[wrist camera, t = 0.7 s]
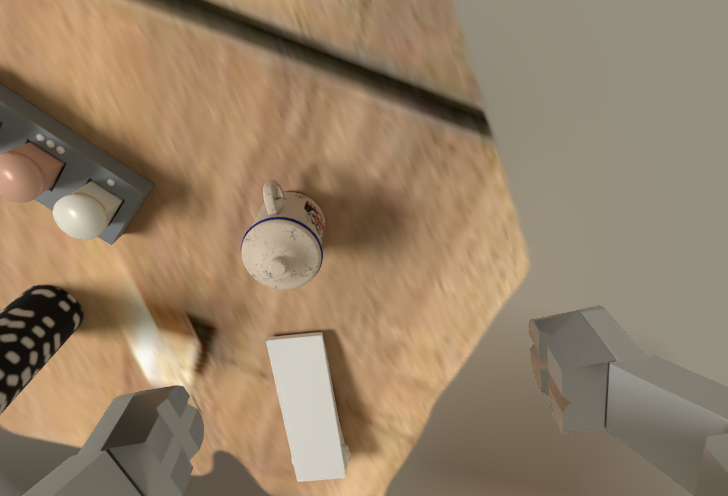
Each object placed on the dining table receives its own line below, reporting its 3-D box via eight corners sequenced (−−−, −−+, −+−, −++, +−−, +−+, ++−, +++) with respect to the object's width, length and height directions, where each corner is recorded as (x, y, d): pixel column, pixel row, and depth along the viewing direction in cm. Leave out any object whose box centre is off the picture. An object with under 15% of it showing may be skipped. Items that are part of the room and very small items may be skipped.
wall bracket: (276, 314, 70) (304, 446, 80) (255, 340, 64) (288, 480, 73) (335, 316, 67) (356, 453, 77) (319, 343, 61) (344, 488, 71)
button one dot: (71, 204, 52) (45, 221, 47) (89, 171, 50) (64, 186, 45) (113, 229, 53) (91, 248, 49) (132, 198, 51) (111, 215, 47)
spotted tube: (8, 300, 61) (-133, 416, 43) (49, 275, 59) (-81, 386, 42) (55, 340, 65) (-58, 462, 47) (96, 317, 63) (-7, 435, 45)
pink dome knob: (11, 167, 49) (-22, 182, 45) (27, 132, 47) (-6, 144, 43) (56, 194, 51) (28, 211, 47) (74, 161, 49) (46, 176, 45)
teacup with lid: (334, 247, 58) (328, 297, 47) (267, 257, 58) (248, 309, 48) (313, 160, 52) (302, 196, 42) (240, 173, 53) (212, 212, 42)
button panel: (-50, 130, 50) (-74, 136, 47) (-25, 66, 47) (-49, 70, 44) (122, 234, 56) (110, 245, 53) (154, 184, 53) (143, 194, 50)
